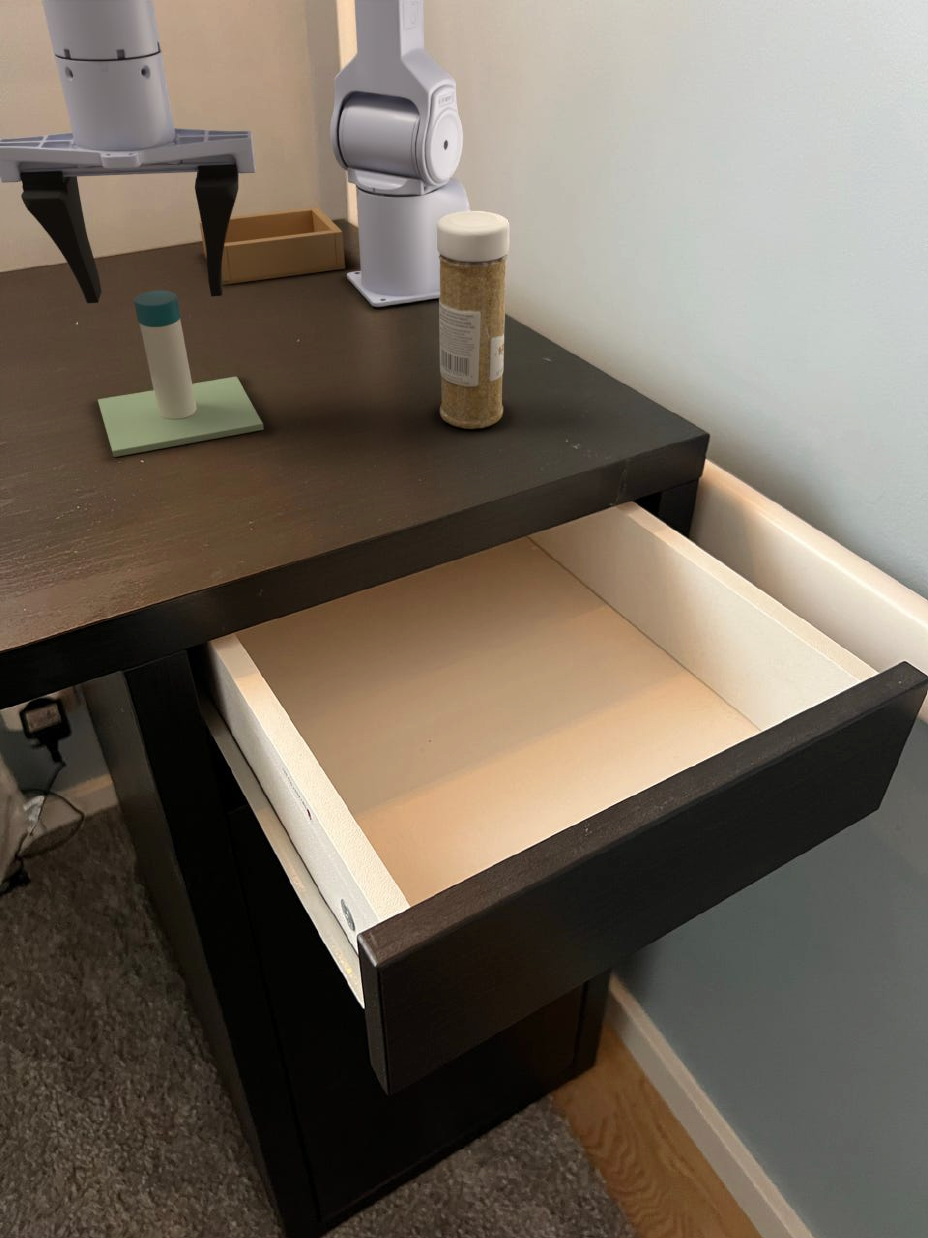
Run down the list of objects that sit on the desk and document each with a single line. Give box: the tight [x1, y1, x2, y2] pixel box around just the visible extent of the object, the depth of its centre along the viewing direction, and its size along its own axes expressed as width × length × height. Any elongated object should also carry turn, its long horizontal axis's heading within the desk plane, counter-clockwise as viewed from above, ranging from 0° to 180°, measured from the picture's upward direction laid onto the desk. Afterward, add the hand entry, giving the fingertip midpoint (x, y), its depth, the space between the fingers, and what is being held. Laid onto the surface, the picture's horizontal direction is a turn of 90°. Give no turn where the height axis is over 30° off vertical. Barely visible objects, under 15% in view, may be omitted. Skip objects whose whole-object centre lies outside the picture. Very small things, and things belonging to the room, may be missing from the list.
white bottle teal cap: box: [133, 290, 197, 419], centre depth 65 cm, size 3×3×8 cm
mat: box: [97, 376, 264, 458], centre depth 67 cm, size 10×8×1 cm
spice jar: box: [437, 210, 511, 430], centre depth 64 cm, size 5×5×14 cm
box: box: [198, 206, 346, 286], centre depth 91 cm, size 12×8×3 cm
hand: (156, 293), depth 62 cm, fingers open, 7 cm apart
